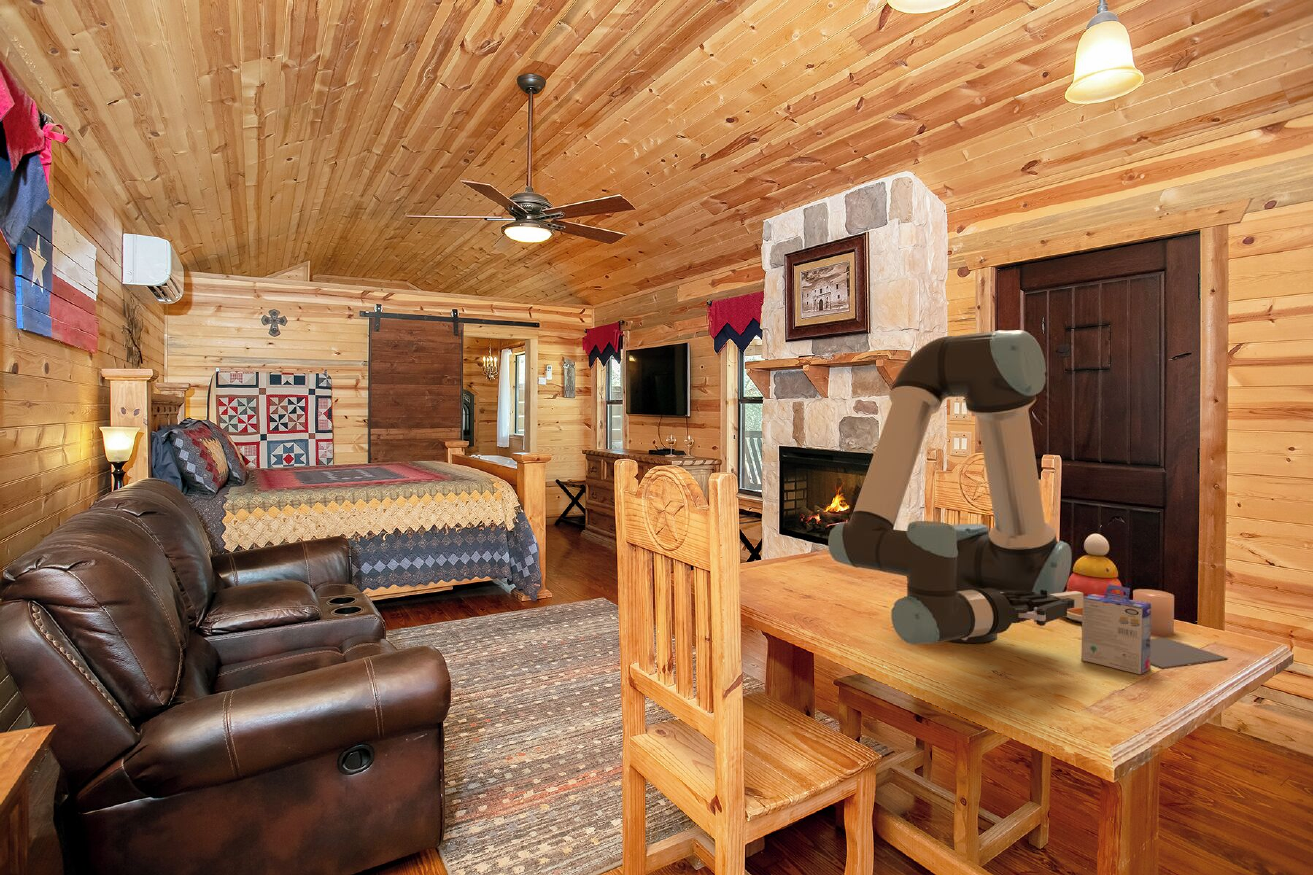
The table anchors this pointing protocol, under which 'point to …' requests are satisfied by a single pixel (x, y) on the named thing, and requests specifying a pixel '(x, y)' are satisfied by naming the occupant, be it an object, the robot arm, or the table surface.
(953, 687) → the table surface
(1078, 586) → the stacking toy
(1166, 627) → the pink pillar candle
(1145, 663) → the ink cartridge box
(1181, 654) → the mat
